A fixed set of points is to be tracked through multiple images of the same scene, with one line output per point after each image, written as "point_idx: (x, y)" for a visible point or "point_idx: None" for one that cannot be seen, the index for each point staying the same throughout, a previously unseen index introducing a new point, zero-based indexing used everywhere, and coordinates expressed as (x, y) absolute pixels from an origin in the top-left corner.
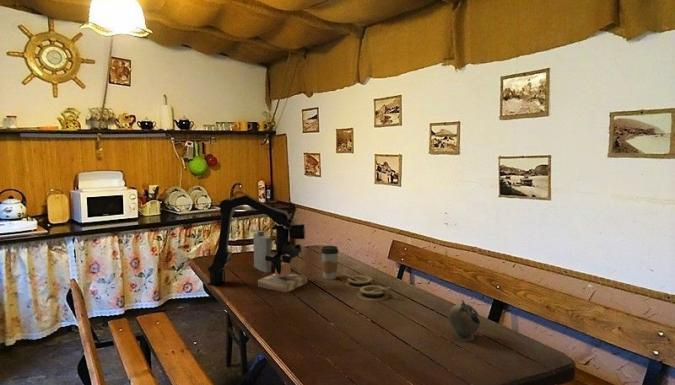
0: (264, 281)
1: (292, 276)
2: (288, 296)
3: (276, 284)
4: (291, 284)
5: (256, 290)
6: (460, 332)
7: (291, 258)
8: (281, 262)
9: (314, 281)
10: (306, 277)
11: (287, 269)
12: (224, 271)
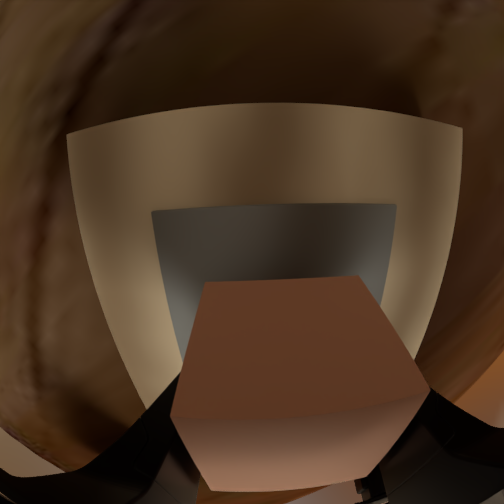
0: (413, 358)
1: (171, 262)
2: (470, 77)
3: (444, 247)
4: (390, 113)
5: (443, 326)
6: None
7: (87, 497)
8: (477, 451)
9: (49, 117)
10: (81, 130)
11: (288, 336)
12: (370, 489)
